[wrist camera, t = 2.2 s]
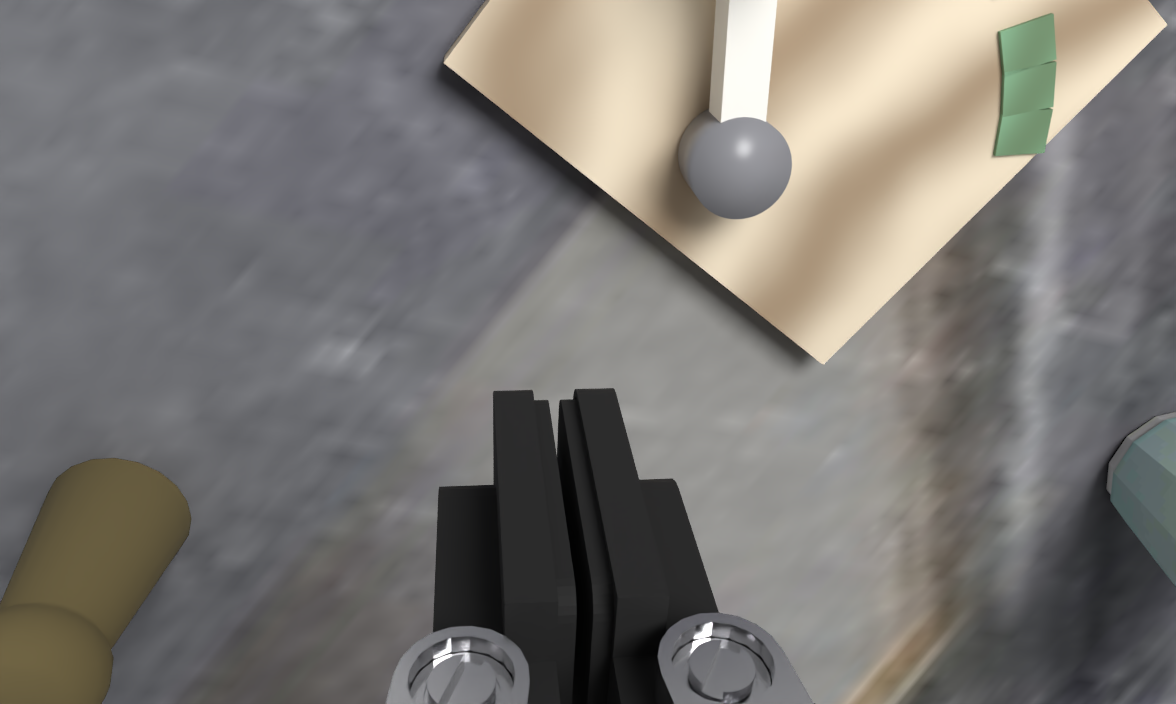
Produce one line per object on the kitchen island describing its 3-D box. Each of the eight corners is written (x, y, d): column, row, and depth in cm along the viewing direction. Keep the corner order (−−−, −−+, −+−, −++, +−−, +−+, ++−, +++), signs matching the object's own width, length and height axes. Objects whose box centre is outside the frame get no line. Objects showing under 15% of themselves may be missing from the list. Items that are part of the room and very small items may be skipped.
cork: (64, 439, 39) (-73, 628, 29) (208, 484, 40) (124, 676, 31) (31, 544, 41) (-106, 752, 31) (169, 582, 43) (80, 790, 33)
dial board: (1142, 20, 35) (1171, 27, 34) (813, 349, 41) (826, 368, 39) (794, -418, 28) (812, -435, 26) (444, 55, 33) (443, 63, 32)
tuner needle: (767, 197, 35) (821, 255, 30) (675, 200, 35) (713, 260, 29) (802, -163, 30) (877, -172, 24) (693, -164, 29) (744, -174, 24)
